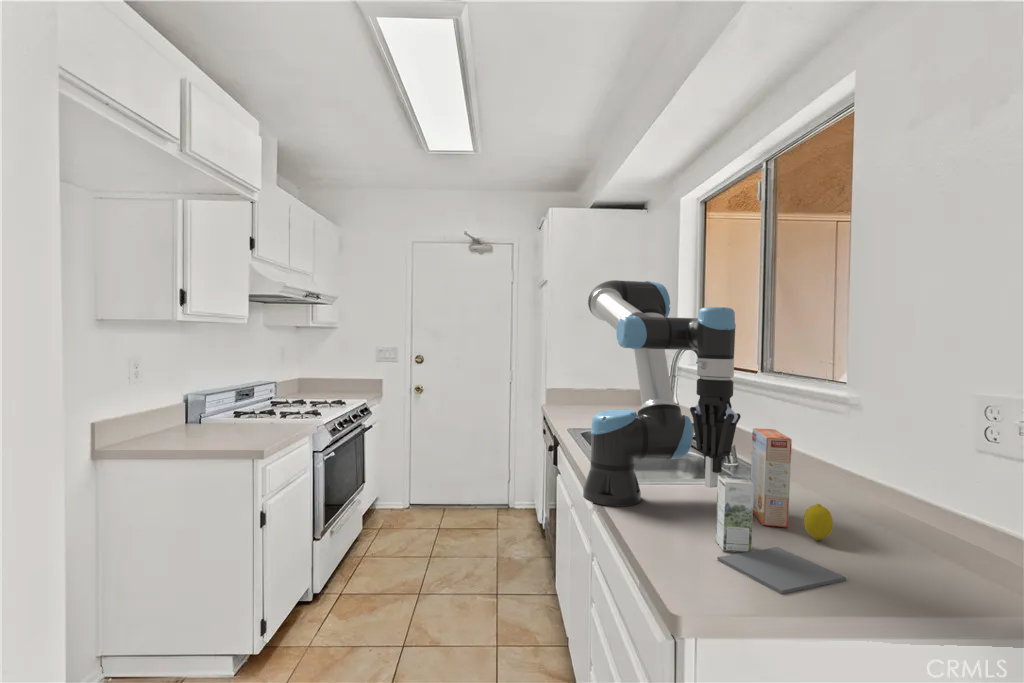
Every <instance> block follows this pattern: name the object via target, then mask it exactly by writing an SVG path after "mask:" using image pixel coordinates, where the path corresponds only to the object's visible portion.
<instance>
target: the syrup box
mask: <svg viewBox="0 0 1024 683" xmlns="http://www.w3.org/2000/svg"><path fill="white" fill-rule="evenodd" d="M753 499H754V484H753V483H752V482H751V479H750V478H748V477H747V476H740V475H739V476H738V475H718V487H717V495H716V522H715V542H716V543H717V544H719V545H718V546H719V548H720V547H721V548H722V549H721V548H720V549H721V550H722V551H723V552H730V551H735V552H734V553H745V552H750V551H752V543H753V542H752V540H753V518H754V517H753V516H754V515H753V514H754V513H753Z"/></svg>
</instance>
